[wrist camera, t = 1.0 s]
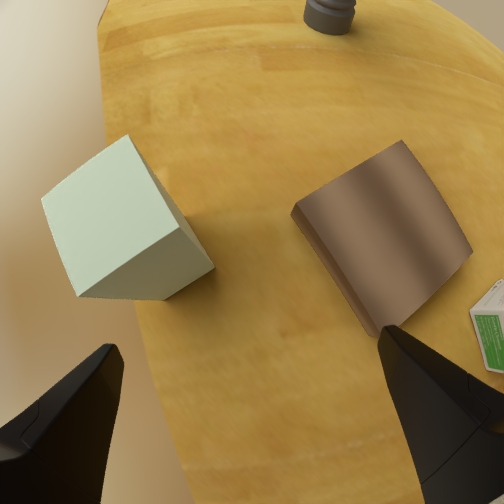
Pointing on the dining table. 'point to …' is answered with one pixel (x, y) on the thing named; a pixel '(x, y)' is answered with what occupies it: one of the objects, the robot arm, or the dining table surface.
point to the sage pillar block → (122, 229)
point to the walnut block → (384, 236)
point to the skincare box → (491, 326)
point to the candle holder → (329, 15)
